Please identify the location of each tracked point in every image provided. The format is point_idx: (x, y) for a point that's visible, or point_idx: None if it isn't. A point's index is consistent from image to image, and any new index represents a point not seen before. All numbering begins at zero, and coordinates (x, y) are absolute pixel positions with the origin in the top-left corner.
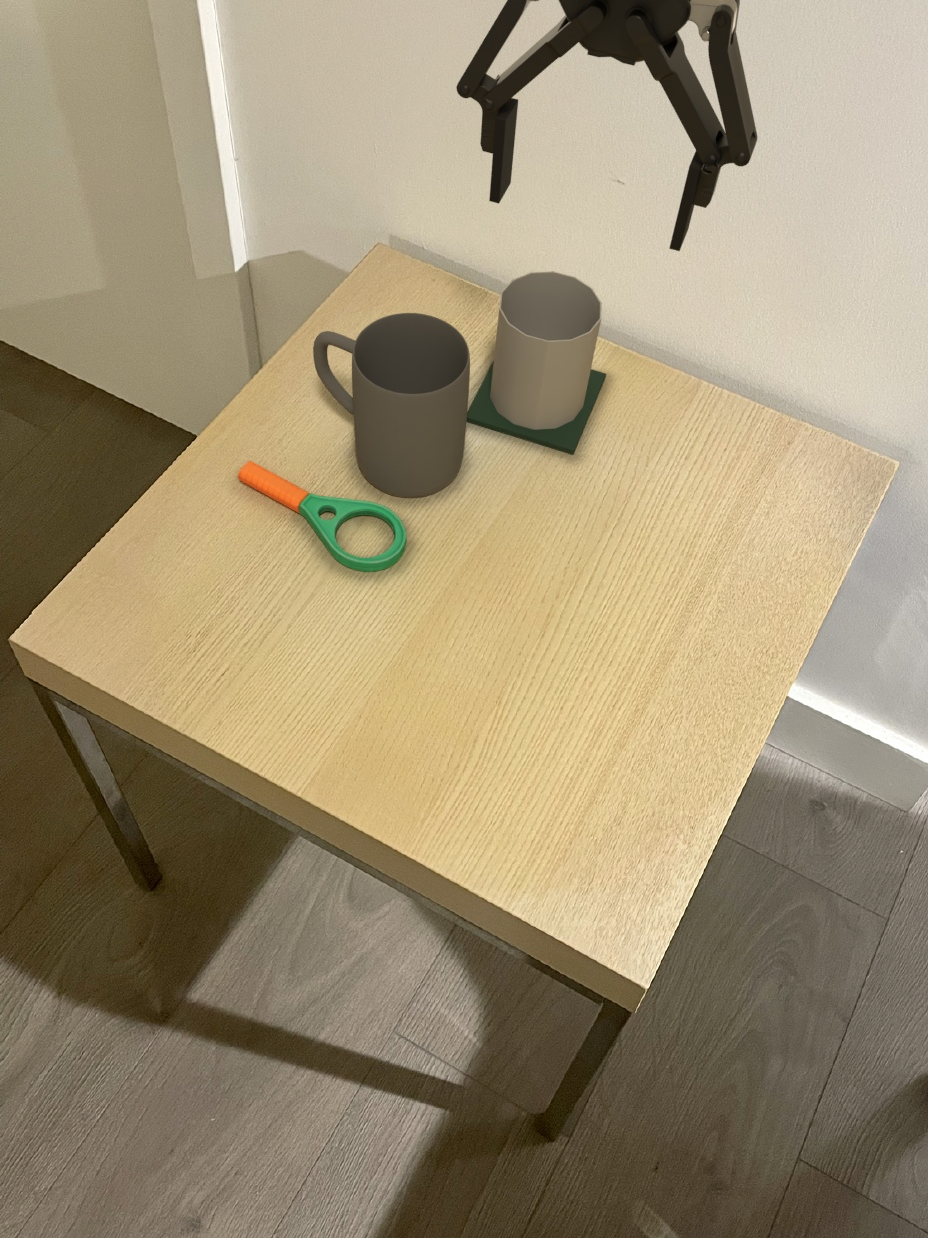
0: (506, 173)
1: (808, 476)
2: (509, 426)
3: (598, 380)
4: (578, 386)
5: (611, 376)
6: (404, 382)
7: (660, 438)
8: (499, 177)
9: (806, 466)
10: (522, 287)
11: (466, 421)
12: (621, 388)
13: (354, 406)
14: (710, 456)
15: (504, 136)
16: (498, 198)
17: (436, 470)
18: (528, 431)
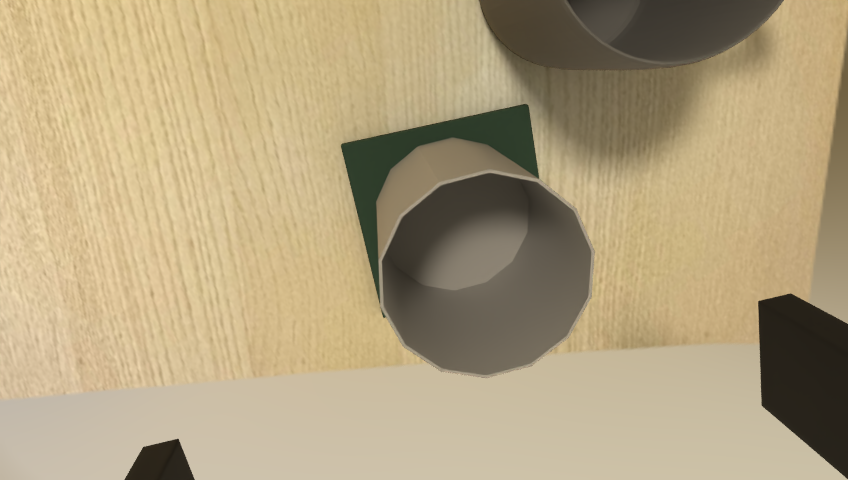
0: (812, 392)
1: (17, 321)
2: (455, 128)
3: None
4: (378, 217)
5: (377, 322)
6: (649, 37)
7: (246, 256)
8: (837, 342)
9: (31, 336)
10: (566, 308)
11: (502, 4)
12: (351, 310)
13: None
14: (162, 269)
15: None
16: (773, 306)
17: None
18: (424, 137)
